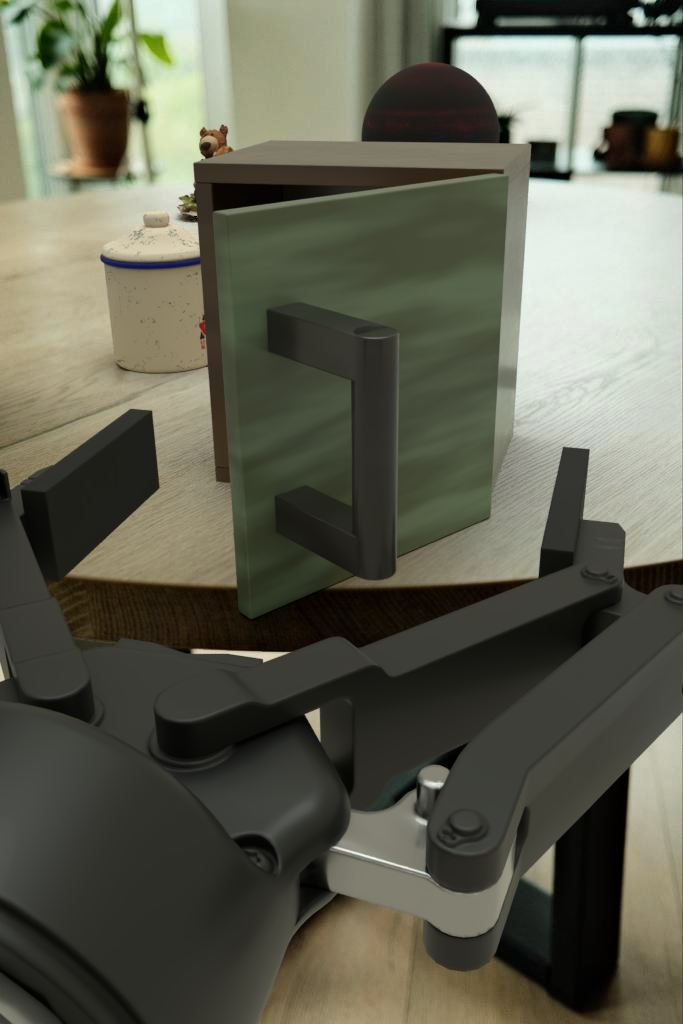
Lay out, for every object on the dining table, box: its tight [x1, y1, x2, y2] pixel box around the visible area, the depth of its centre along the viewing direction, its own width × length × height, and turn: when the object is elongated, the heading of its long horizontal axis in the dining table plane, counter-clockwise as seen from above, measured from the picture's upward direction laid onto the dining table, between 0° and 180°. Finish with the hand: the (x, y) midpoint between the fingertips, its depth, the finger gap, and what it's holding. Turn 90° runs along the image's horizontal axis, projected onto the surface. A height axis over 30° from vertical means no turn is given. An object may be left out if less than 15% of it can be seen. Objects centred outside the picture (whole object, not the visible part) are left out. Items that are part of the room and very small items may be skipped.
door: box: [213, 173, 509, 620], centre depth 45 cm, size 7×16×18 cm, turn 131°
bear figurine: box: [176, 124, 235, 217], centre depth 146 cm, size 14×15×12 cm
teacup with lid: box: [99, 210, 208, 374], centre depth 82 cm, size 12×9×12 cm
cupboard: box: [192, 139, 532, 493], centre depth 59 cm, size 12×16×18 cm
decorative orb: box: [361, 62, 500, 143], centre depth 148 cm, size 20×20×20 cm
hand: (347, 468), depth 31 cm, fingers open, 13 cm apart
